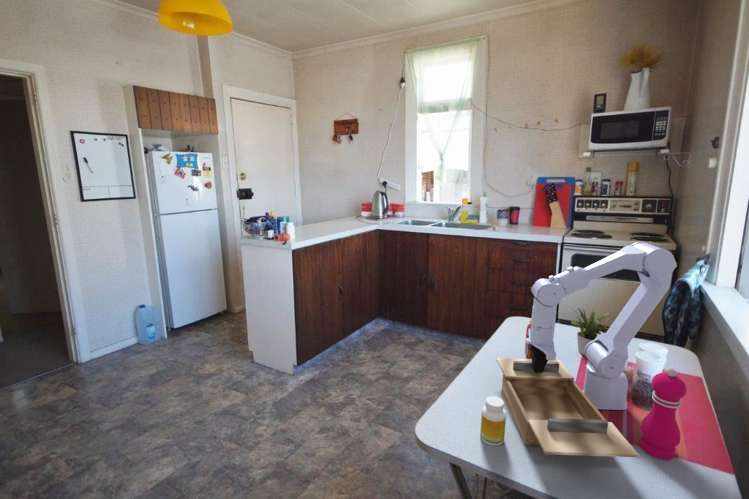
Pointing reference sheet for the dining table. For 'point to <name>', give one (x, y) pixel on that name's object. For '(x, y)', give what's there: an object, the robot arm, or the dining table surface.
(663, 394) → the pepper mill
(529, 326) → the soda can
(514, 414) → the wooden box
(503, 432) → the supplement bottle
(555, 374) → the lid
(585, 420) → the lid
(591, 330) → the house plant
